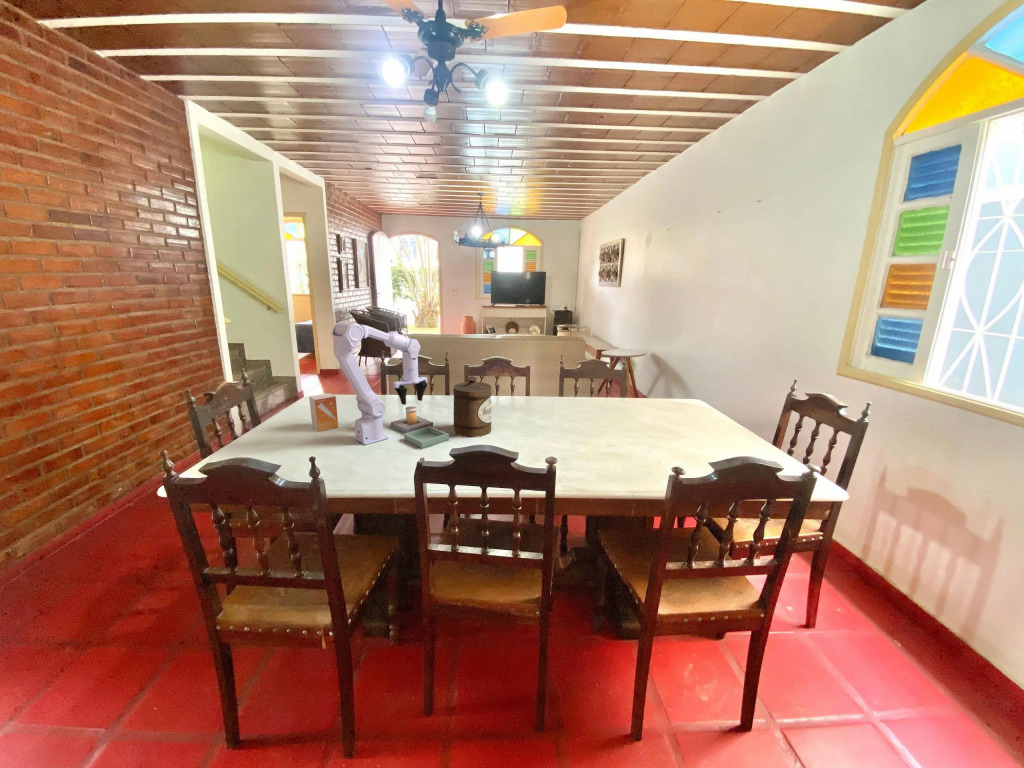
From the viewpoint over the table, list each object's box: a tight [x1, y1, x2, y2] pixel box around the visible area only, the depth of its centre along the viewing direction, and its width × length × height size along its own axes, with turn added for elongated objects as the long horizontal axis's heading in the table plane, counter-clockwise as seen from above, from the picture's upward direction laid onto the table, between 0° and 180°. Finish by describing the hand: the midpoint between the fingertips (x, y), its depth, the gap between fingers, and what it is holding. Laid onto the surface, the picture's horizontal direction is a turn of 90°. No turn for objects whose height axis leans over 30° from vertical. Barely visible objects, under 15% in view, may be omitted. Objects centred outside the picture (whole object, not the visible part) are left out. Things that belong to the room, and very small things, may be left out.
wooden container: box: [453, 375, 492, 438], centre depth 160 cm, size 15×15×22 cm
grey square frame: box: [390, 415, 434, 434], centre depth 166 cm, size 12×12×2 cm
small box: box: [308, 392, 339, 433], centre depth 162 cm, size 8×6×13 cm
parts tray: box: [403, 426, 450, 450], centre depth 152 cm, size 12×12×2 cm
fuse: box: [405, 405, 418, 425], centre depth 165 cm, size 4×4×8 cm
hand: (411, 402), depth 164 cm, fingers open, 7 cm apart
